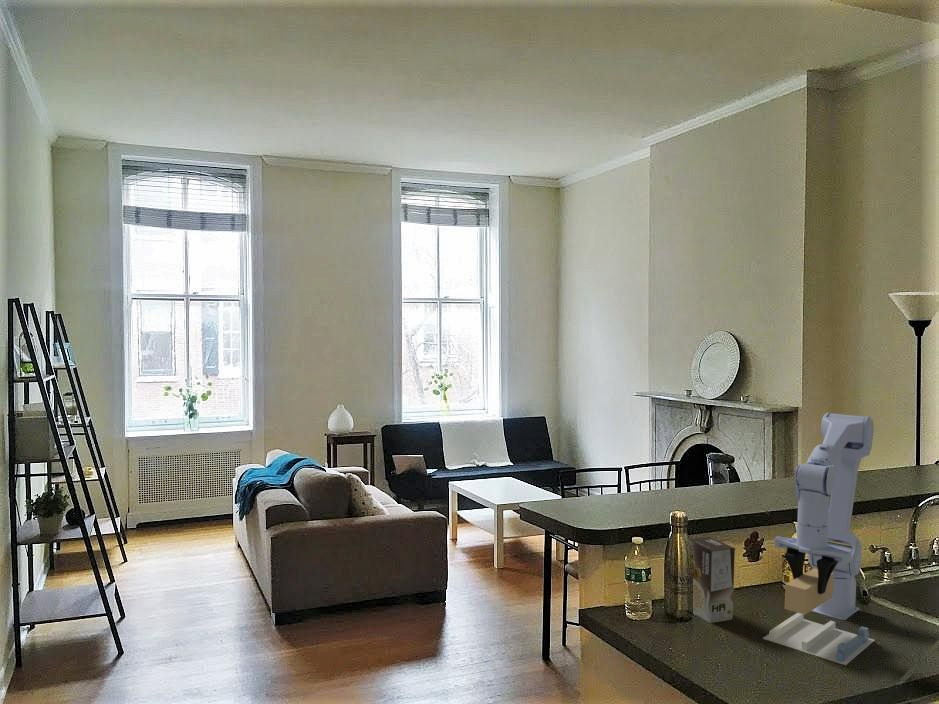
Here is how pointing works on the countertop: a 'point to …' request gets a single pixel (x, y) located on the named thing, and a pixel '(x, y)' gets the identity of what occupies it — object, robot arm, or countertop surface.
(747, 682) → the countertop surface
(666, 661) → the countertop surface
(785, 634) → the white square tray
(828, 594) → the tan bar
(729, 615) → the coffee box
